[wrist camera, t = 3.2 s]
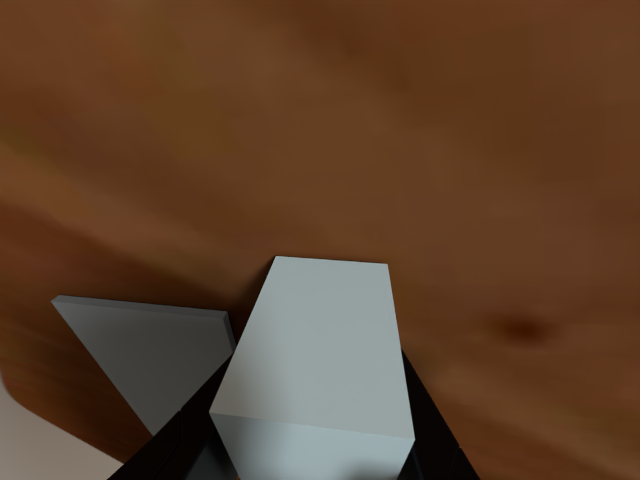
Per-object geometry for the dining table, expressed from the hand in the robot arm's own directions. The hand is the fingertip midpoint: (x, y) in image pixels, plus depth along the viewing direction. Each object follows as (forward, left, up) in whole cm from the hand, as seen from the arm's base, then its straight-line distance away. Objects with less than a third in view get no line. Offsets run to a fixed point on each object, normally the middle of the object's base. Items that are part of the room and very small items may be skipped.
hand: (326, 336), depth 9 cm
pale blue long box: (-5, 0, -1) cm, 5 cm away
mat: (-8, +8, -1) cm, 12 cm away
